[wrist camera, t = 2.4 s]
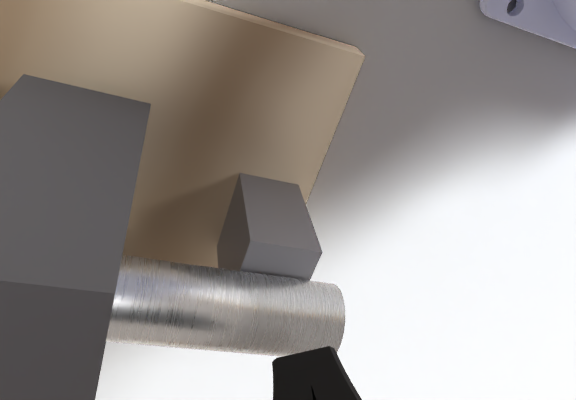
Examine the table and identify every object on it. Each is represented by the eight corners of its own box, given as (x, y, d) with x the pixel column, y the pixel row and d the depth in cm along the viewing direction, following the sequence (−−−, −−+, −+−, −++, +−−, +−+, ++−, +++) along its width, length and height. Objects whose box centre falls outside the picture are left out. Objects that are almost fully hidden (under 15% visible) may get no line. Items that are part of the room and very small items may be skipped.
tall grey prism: (151, 103, 12) (115, 293, 7) (113, 298, 16) (68, 537, 10) (23, 73, 12) (-146, 264, 6) (12, 287, 15) (-101, 542, 9)
